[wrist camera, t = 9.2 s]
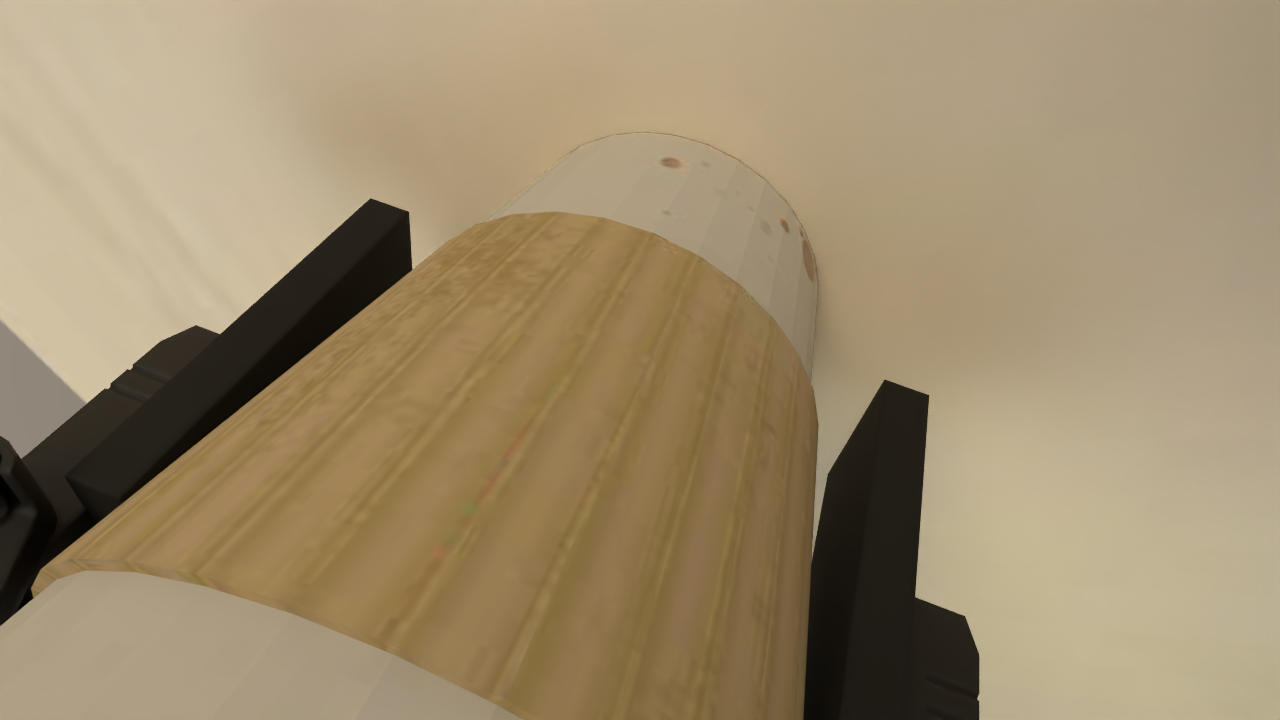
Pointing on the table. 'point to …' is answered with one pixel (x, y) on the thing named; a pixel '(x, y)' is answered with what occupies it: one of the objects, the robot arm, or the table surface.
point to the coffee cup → (487, 486)
